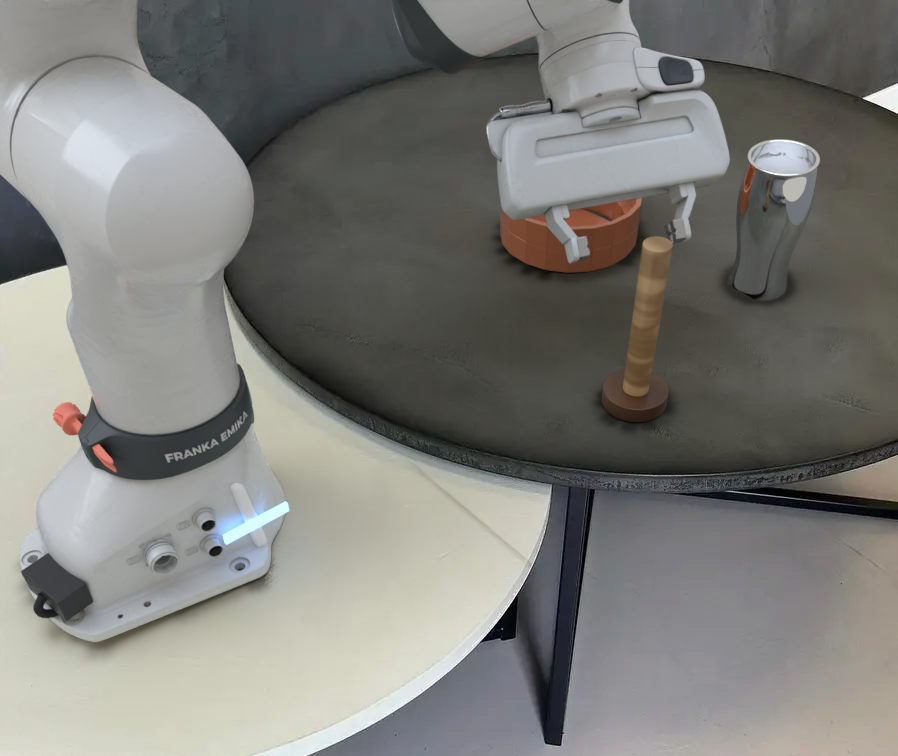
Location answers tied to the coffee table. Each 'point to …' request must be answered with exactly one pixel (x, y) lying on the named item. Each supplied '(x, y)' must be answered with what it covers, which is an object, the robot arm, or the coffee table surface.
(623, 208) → the bowl
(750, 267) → the beer glass
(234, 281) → the coffee table surface
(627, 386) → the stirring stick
